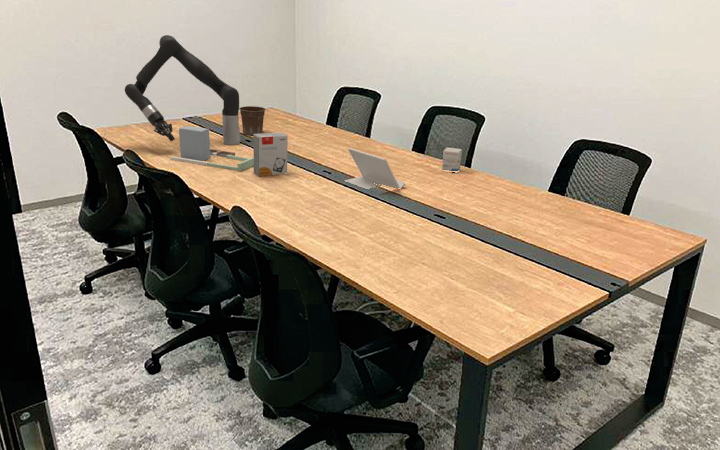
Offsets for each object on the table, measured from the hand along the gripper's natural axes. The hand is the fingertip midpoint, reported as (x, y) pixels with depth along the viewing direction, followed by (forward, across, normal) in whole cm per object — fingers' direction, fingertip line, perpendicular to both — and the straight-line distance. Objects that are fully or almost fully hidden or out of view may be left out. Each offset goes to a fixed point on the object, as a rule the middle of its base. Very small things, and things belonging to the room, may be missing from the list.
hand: (173, 140), depth 316 cm
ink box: (+107, +48, -95) cm, 151 cm away
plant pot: (+12, +66, 0) cm, 67 cm away
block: (+16, 0, -4) cm, 16 cm away
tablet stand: (+88, +4, -76) cm, 116 cm away
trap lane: (+25, +3, -14) cm, 28 cm away
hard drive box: (+51, -5, -39) cm, 64 cm away
